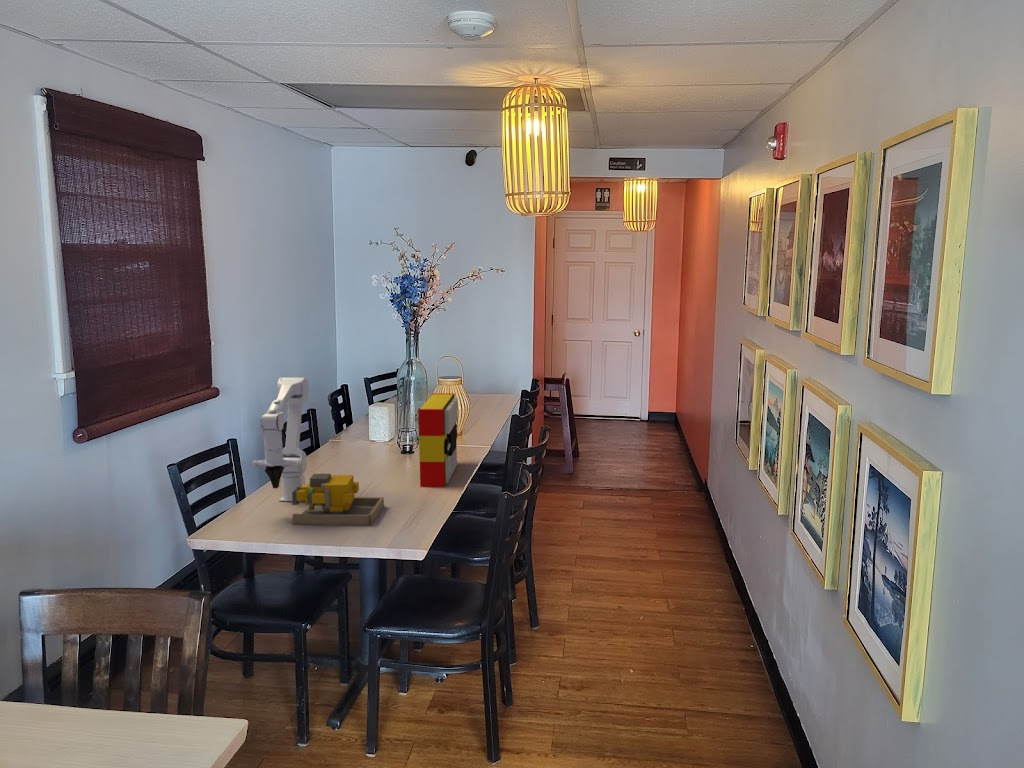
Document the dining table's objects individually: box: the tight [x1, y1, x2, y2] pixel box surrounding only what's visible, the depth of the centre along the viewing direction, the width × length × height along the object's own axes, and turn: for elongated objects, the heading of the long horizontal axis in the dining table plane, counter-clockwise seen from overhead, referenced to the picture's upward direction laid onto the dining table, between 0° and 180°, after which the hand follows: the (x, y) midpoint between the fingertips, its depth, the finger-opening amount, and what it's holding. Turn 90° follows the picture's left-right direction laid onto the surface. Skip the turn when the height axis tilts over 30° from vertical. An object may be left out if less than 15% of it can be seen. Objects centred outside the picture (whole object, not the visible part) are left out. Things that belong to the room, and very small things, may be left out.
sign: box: [417, 392, 459, 488], centre depth 305 cm, size 33×11×30 cm, turn 176°
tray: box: [292, 496, 385, 526], centre depth 261 cm, size 19×26×3 cm
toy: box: [292, 473, 360, 515], centre depth 261 cm, size 14×13×20 cm
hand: (275, 487), depth 261 cm, fingers closed
